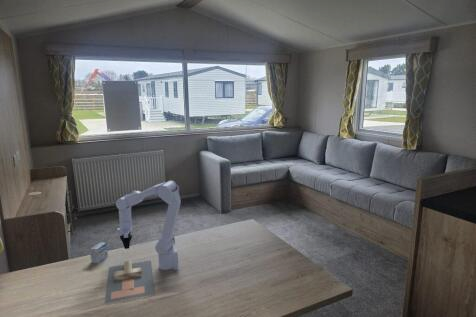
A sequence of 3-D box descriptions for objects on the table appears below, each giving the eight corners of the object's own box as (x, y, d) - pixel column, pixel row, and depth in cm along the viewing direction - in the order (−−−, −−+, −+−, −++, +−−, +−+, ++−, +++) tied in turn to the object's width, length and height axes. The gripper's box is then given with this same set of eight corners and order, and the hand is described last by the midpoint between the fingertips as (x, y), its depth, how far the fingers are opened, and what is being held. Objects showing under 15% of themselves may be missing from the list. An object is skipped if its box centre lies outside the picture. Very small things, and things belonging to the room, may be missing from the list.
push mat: (150, 262, 160) (150, 260, 160) (155, 295, 133) (155, 293, 133) (109, 269, 154) (109, 267, 153) (104, 305, 127) (104, 303, 126)
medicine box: (99, 265, 157) (97, 249, 155) (91, 264, 158) (89, 248, 156) (108, 257, 165) (107, 242, 163) (100, 256, 166) (99, 241, 164)
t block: (140, 263, 157) (140, 259, 156) (141, 275, 146) (141, 271, 145) (115, 267, 153) (114, 263, 152) (114, 280, 142) (113, 275, 142)
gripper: (117, 215, 161) (118, 239, 164) (116, 226, 147) (118, 252, 150) (131, 214, 163) (133, 238, 166) (132, 224, 150) (133, 250, 152)
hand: (126, 244), depth 158 cm, fingers open, 7 cm apart
